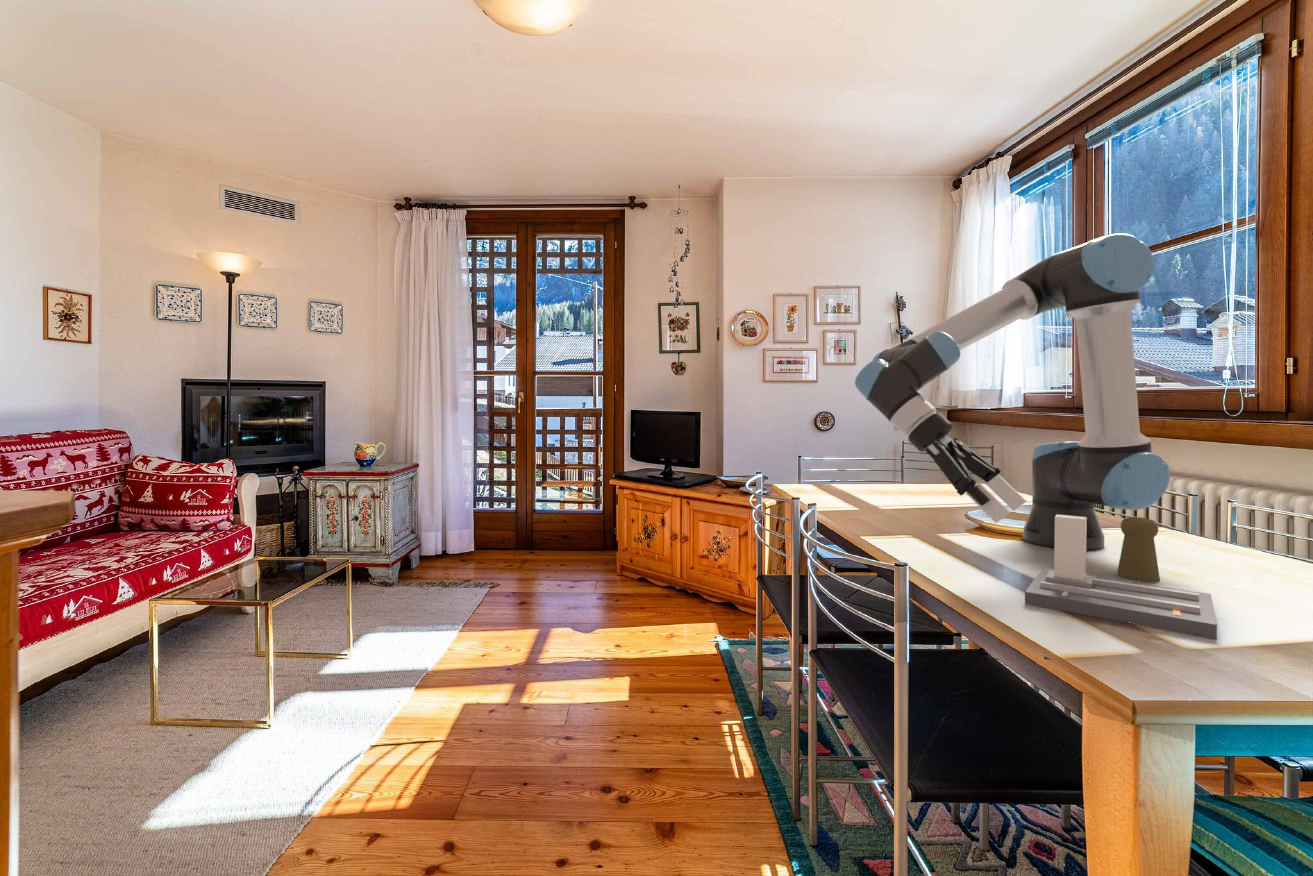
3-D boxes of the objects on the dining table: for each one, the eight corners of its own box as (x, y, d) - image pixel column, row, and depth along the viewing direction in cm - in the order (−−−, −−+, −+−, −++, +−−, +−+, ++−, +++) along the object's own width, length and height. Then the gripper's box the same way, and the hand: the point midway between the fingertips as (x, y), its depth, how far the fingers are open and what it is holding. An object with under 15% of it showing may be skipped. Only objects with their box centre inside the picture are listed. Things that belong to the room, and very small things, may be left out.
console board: (1041, 579, 102) (1041, 564, 102) (1210, 606, 88) (1211, 588, 87) (1024, 603, 91) (1024, 586, 91) (1216, 639, 76) (1217, 619, 76)
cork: (1168, 583, 99) (1170, 521, 98) (1129, 581, 100) (1130, 521, 99) (1146, 573, 105) (1147, 515, 104) (1109, 572, 106) (1110, 514, 105)
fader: (1050, 576, 97) (1051, 512, 96) (1094, 583, 93) (1095, 516, 92) (1045, 583, 93) (1046, 517, 93) (1090, 591, 89) (1092, 521, 89)
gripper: (928, 435, 118) (1010, 513, 108) (882, 442, 100) (976, 537, 90) (956, 409, 114) (1043, 489, 105) (914, 412, 96) (1015, 508, 86)
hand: (1012, 511), depth 97 cm, fingers open, 13 cm apart
